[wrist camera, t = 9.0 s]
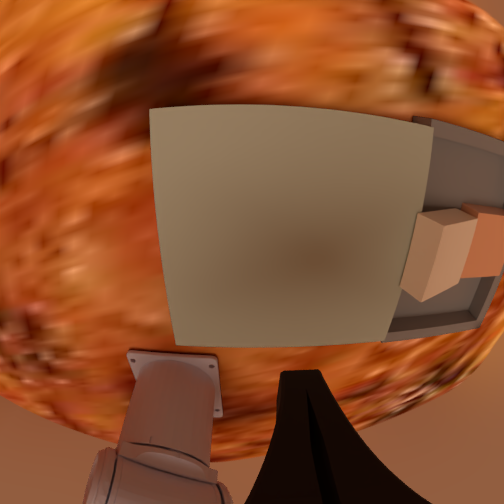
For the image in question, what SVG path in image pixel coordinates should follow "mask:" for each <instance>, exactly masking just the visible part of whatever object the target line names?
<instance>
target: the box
mask: <svg viewBox="0 0 504 504" xmlns="http://www.w3.org/2000/svg"><path fill="white" fill-rule="evenodd" d="M413 123H417V124H421V125H425V126H430V127H434V132H433V142H432V151H431V159H430V166H429V173H428V180H427V186H426V192H425V197H424V203H423V208H422V212H430V211H437V210H445V209H453V208H457V209H459V210H461V207H462V203H468V204H475V205H482V206H489V207H496V208H502V209H504V142H503V141H501V140H498V139H495V138H493V137H490V136H487V135H484V134H481V133H478V132H475V131H472V130H469V129H466V128H463V127H460V126H456V125H453V124H450V123H446V122H443V121H439V120H435V119H431V118H424V117H417V116H413ZM503 272H504V264H503V267H502V270H501V272H500V275H499V276H488V277H473V278H460V280H459V282H458V284H456V285H454V286H452V287H450V288H449V289H447V290H445V291H443V292H441V293H439V294H437V295H435V296H433V297H431V298H429V299H427V300H425V301H423V302H419V301H418V300H417V299H415V298H414V297H413V296H411V295H410V294H409V293H407V292H406V291H405V290H403V289H402V291H401V294H400V297H399V300H398V304H397V307H396V310H395V313H394V315H393V318H392V321H391V324H390V327H389V330H388V332H387V335H386V338H385V340H384V341H381V343H383V342H392V341H401V340H409V339H416V338H423V337H430V336H436V335H442V334H448V333H454V332H460V331H465V330H470V329H476V328H479V327H480V325H481V323H482V321H483V319H484V317H485V315H486V312H487V310H488V308H489V306H490V304H491V301H492V299H493V297H494V294H495V292H496V290H497V287H498V285H499V282H500V280H501V277H502V275H503Z"/></svg>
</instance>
